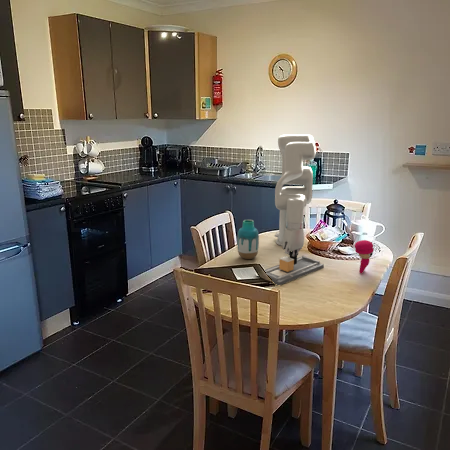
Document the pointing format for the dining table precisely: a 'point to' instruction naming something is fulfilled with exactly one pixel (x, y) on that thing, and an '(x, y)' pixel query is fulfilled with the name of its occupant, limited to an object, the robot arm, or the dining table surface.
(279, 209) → the robot arm
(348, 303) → the dining table surface
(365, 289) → the dining table surface
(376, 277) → the dining table surface
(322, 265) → the grey rectangular tray
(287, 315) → the dining table surface
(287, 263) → the orange cube
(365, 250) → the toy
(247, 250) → the vase
